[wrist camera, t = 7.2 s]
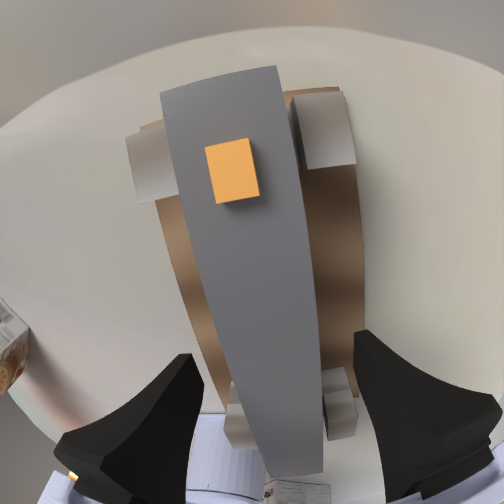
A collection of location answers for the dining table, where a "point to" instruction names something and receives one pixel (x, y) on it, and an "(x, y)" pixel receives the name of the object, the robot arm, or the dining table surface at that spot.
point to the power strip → (253, 254)
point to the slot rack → (320, 240)
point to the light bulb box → (295, 493)
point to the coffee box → (12, 347)
